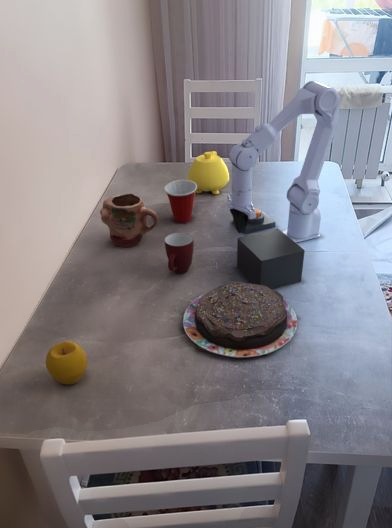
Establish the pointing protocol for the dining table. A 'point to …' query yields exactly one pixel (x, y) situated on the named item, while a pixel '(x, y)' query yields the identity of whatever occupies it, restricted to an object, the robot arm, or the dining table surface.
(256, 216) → the button
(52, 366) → the apple
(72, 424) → the dining table surface
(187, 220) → the plastic cup
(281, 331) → the chocolate cake
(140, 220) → the brown clay mug
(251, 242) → the black block
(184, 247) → the mug
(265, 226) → the control block
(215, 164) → the teapot
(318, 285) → the dining table surface
